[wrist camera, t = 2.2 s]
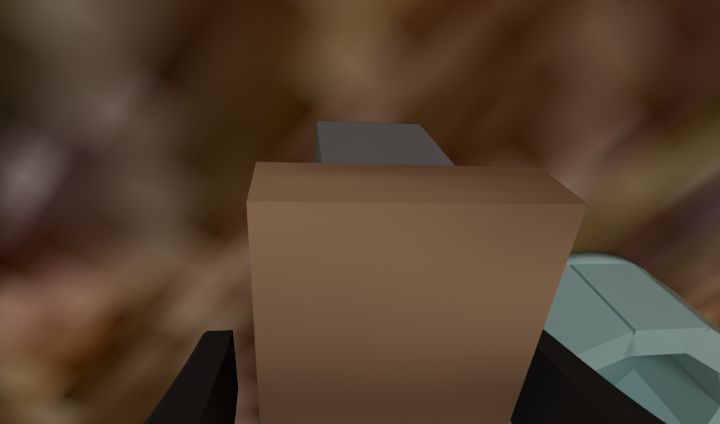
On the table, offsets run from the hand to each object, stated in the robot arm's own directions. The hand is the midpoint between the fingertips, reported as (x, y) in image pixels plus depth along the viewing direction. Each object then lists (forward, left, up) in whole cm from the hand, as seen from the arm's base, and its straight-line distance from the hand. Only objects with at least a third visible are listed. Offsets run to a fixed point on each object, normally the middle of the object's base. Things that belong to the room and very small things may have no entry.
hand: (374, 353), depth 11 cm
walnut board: (0, 0, 0) cm, 0 cm away
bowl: (-4, -9, -4) cm, 10 cm away
